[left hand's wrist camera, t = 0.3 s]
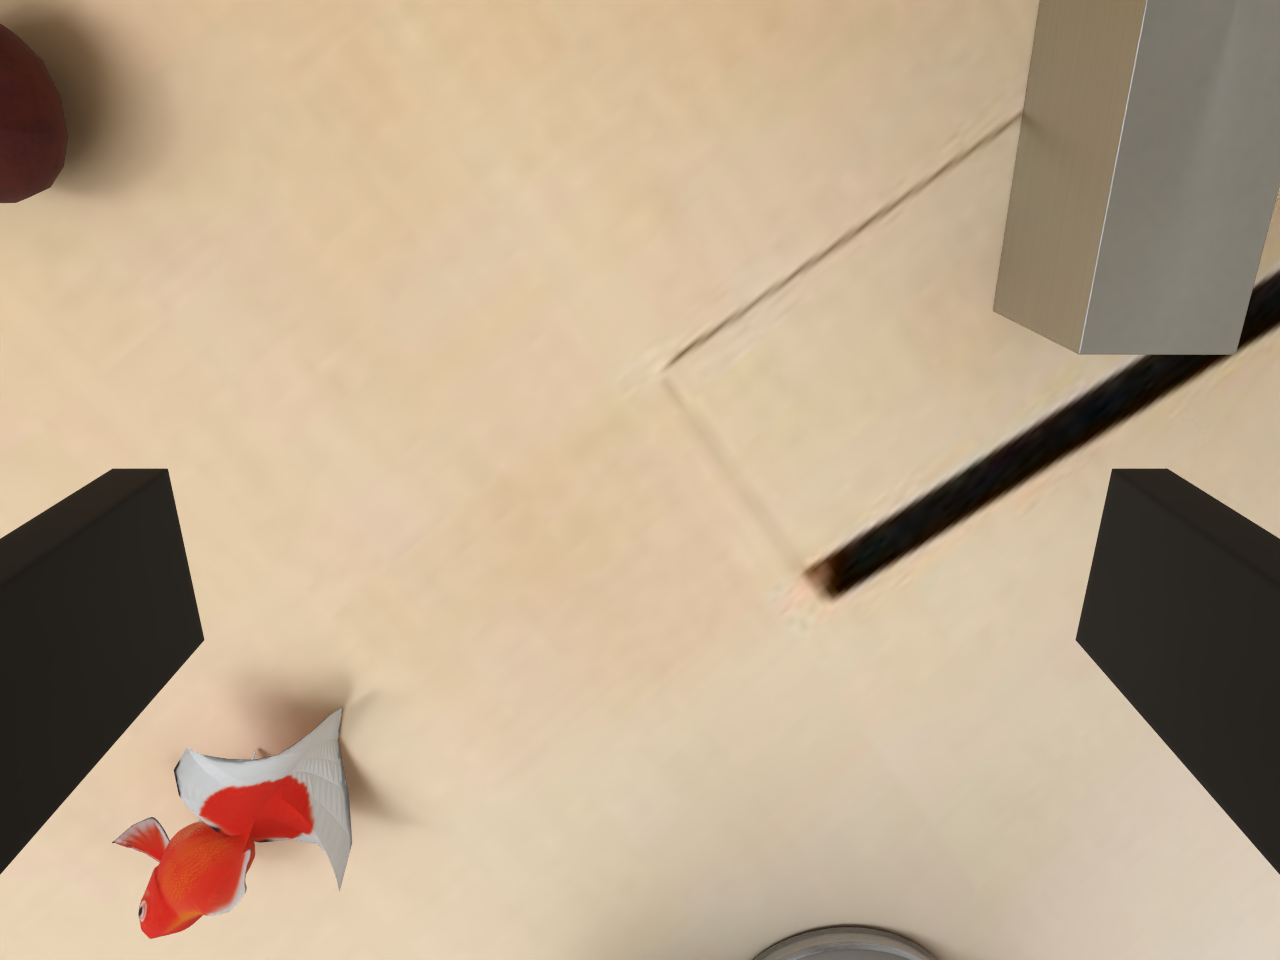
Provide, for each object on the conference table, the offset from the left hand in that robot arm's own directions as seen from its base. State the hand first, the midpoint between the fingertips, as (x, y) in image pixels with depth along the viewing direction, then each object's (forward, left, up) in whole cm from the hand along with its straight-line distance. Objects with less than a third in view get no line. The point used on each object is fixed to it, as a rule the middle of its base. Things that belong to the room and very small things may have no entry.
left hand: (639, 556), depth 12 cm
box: (+10, -20, -30) cm, 37 cm away
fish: (-29, +22, -30) cm, 47 cm away
